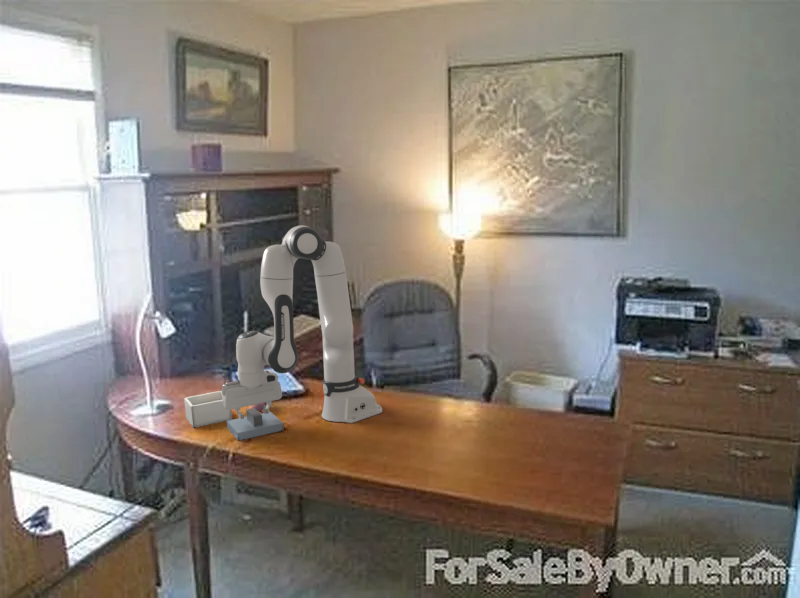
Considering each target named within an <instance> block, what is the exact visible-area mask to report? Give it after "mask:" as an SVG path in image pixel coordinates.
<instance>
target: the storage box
mask: <svg viewBox="0 0 800 598" xmlns="http://www.w3.org/2000/svg"><path fill="white" fill-rule="evenodd" d="M183 403H184V411H185V419H186V420H188V421H189V422H188V421H187V422H188V423H189V425H190V424H191V425H192V426H191V425H190V426H191V427H192V429H195V428H194V427H196V428H199V427H198V426H201V427H205V426H209V424H210V425H215V424H219V423H223V422H227V421H229V420H233V411H232V410H233V409H231V410H227V409H226V408H225V407H224V406H223V394H222V390H218V391H212V392H207V393H202V394H201V393H200V394H196V395H191V396H187V397H184V398H183ZM214 423H215V424H214ZM204 425H205V426H204Z"/></svg>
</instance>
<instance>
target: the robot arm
mask: <svg viewBox="0 0 800 598" xmlns="http://www.w3.org/2000/svg"><path fill="white" fill-rule="evenodd" d="M299 259H303V260H310V261H311V263H312V266H313V272H314V280H315V287H316V288H315V289H316V295H317V303H318V313H319V319H320V320H319V321H320V326H321V327H320V329H321V334H322V335H321V336H322V353H323V354H322V358H323V359H322V361H323V377H324V378H323V380H322V381H323V382H322V386H323V387H322V388H323V389H322V390H323V394H324V399H323V408H322V413H321V418H323V419H324V420H326V421H329V422H335V423H336V422H337V423H338V422H339V423H341V422H342V423H348V424H353V423H356V422H359V421H362V420H364V419H368V418H370V417H373V416H377V415H379V414H382V413H383V407H382V406H381V405H380V404H379V403H377V400H376V397H375V395H374V394H373V393H372V392H371V391H369V390H367V389H366V388H365V387H363V386H362V385H363V384H365V378H362V377H359V376H356V375H355V353H354V352H355V351H354V324H353V317H352V316H353V315H352V309H351V308H352V307H351V302H350V293H349V285H348V279H347V278H348V277H347V270H346V264H345V260H344V256H343V252H342V250H341V247H340V245H339V244H338V243H336V242H333V241H328V240H327V241H325V240H324V239H323V237H322V236H321V235H320V233H319V232H318V231H317V230H315V229H314V228H312V227H310V226H307V225H304V224H303V225H302V224H301V225H300V224H299V225H294V226H291V227H290V228H289V229H288V230H287V231H286V232H285V233H284V235H283V237H282V238H281V239H280V241H279V243H278V244H273V245H269V246H268V247H266V248H265V250H264V251H263V254H262V259H261V263H260V264H261V266H260V276H259V277H260V278H259V279H260V281H259V285H260V291H261V296H262V298H263V299H264V301H265V302H266V304H267V305H268V307H269V309H270V311H271V313H272V316H273V323H274V325H273V326H274V332H273V333H274V336H272V335H270V336H269V335H267V334H263V333H262V332H259V330H248V331H244V332H242V333H240V334H239V336H237V338H236V344H235V352H236V353H235V355H236V361H237V364H238V365H237V380H234V381H230V382H229V381H228V382H225V384H223V385H222V386H221V391H222V394H223V406H224V407H225V408H226V409H227V410H231V409H232V410H234V411H235V412H236V413H237V415H238V418H239V419H240V420H241V419H244V417H245V414H244V413H243V412H240V411H241V408H243V407H244V408H245V407H248V406H255V405H256V404H259V403H264V402H266V403H267V405H266V408H263V410H262V411H263V413H264V414H268V413H269V412H270V408H271V406H272V404H273V403H272V402H273V401H277V400H281V398H282V396H283V393H282V386H281V383H280V381H278V380H279V375H278V374H287V373H290V372H291V371H293V370H294V369H295V368H296V366H297V365H298V363H299V359H300V355H299V352H298V349H297V346H296V343H295V335H294V334H295V333H294V331H295V329H294V308H293V305H294V304H293V301H294V300H293V293H294V292H293V290H294V286H293V285H294V268H295V264H296V262H297V260H299ZM265 366H269V367H270V368H271V369H272V370H273V371H272V370H268V369H267V370H266V369H265Z"/></svg>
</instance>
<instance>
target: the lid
mask: <svg viewBox="0 0 800 598" xmlns="http://www.w3.org/2000/svg"><path fill="white" fill-rule="evenodd" d="M245 412H246V416H244V419H241V420H240V419H239V417H238V418H235V419H232V420H228V421H226V429H227V430H228V431H229V433H230V434H231V435H232V436H233V437H234V438H235V439H236V440H237V441H238V442H239V440H240V441H243V439H244V440H247V439H251V438H256V437H260V436H264V435H269V434H273V433H277V432H278V433H279V432H282V431H284V422H283V421H282V420H280V419H279V417H277V416H276V415H275V414H274V413H273V412H272V411H269V413H268V414H264V412H258V411H257V410H256V409H255V408H253V409H251V408H249V409H248V408H247V409H246V410H245ZM281 430H282V431H281Z"/></svg>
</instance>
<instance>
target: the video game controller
mask: <svg viewBox="0 0 800 598" xmlns="http://www.w3.org/2000/svg"><path fill="white" fill-rule="evenodd" d="M266 405H267V403H266V402H264V403H259V404H255V405H253V406H252V407H251V408H250V409H253V408H255V409H256V410H257V411H258V412H259V413H263V411H264V410H263V408H266Z"/></svg>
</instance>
